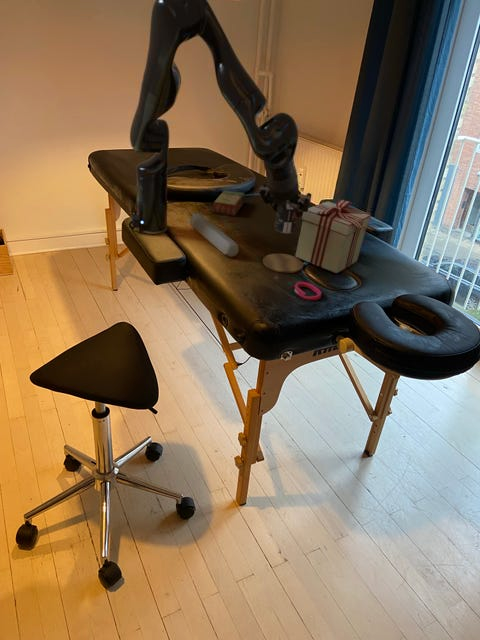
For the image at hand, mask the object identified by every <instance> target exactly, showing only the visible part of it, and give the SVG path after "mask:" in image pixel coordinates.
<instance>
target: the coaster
mask: <svg viewBox="0 0 480 640" xmlns="http://www.w3.org/2000/svg"><path fill="white" fill-rule="evenodd" d="M262 265H264V267H266V268H267V269H269V270H271V271H274V272H278V273H283V274H284V273H285V274H291V273H293V274H294V273H298V272H300V271H301V270H303V268H304V261H303V260H302V259H299V258H297V257H295V256H294V255H292V254H286V253H270V254H267V255H265V256H264V257H262Z"/></svg>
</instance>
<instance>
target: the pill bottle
mask: <svg viewBox="0 0 480 640" xmlns="http://www.w3.org/2000/svg"><path fill="white" fill-rule="evenodd" d="M297 220H298V217H297V210H296V209H295V208H292V207H291V206H290V205H289V204H288V203H284V202H278V204H277V211H276V212H275V219H274V227H273V229H274V230H275V231H276V232H277V233H280V234H281V233H282V234H292V233H294V232H296V225H297Z"/></svg>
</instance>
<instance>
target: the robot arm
mask: <svg viewBox="0 0 480 640" xmlns="http://www.w3.org/2000/svg"><path fill="white" fill-rule="evenodd" d="M149 29H150V30H149V42H148V50H147V54H146V62H145V67H144V71H143V74H142V79H141V80H142V81H141V84H140V91H139V97H138V101H137V102H138V103H137V106H136V109H135V111H134V115H133V118H132V122H131V124H130V129H129V143H130V146H131V148H132V150H134V151H135V152H137V153H140V154H141V153H142V154H153V156H152V157H150V158H149V159H147V160H145V161H142V162H140V163H138V164H137V166H136V197H135V201H136V202H135V205H136V207H135V208H136V214H131V220H130V221H129V222H128V228H129V229H131V230H132V231H133V230H134V229H137V230H138V233H139V234H146V235H160V234H164V233H166V232H167V231H168V171H169V150H170V128H169V127H170V126H169V124H168V122H167V121H166V120H165V119H161V117H162V116H164V115H165V114H167V113H168V112H169V111H171V109H172V108H173V107H174V105H175V104H176V101H177V99H178V96H179V92H180V89H181V85H182V75H181V72H180V70H179V67H178V65H177V63H176V62H175V57H176V54H177V51H178V49H179V48H180V46H181V45H182V44H183V43H185V42H188V41H190V40H192V39H194V38H196V37H199V39H200V40H201V41H202V42H203V43H204V44H205V46H206V48H207V49H208V51H209V53H210V55H211V59H212V62H213V69H214V76H215V80H216V85H217V87H218V91H219V92H220V94H221V96H222V98H223V99H224V100H225V102H226V104H227V105H228V106H229V107H230V108H231V110H232V111H233V112H234V114H235V115H236V116H237V118H238V120H239V122H240V123H241V125H242V128H243V129H244V131H245V134H246V136H247V139H248V142H249V144H250V146H251V150H252V152H253V153H254V155H255V156H256V157H257V158H258V159H260V160H262V162H263V167H264V170H265V171H264V172H265V177H266V178H265V179H266V182H267V184H264V183H262V184H261V187H260V190H259V192H258V193H259V195H260V197H261V199H262V200H263V203H264V204H266V205H268V204H270V206H271V208H272V210H273V211H274V212H275V213H276V211H277V204H278V202H284V203H288V204H289V205H290V206H291V207H292V208H295V209H296V210H297V218H301V217H302V215H303V212H307V211H308V208H310V205H311V200H312V196H313V195H312V193H311V192H307V193H306V194H303V193H302V192H301V191H300V186H299V179H298V178H299V177H298V176H299V175H298V171H297V167H296V166H295V159H294V157H295V154H296V151H297V146H298V142H299V129H298V125H297V123H296V121H295V119H294V118H293V117H292V115H290V114H289V113H286V112H277V113H275V114H274V115H272V116H271V117H270V118H269V119H267V120H266V121H265V122H263V123H262V124H260V125H259V126H258V124H257V119H258V117H259V116H260V115H261V113H262V112H263V111H264V109H266V106H267V104H268V101H267V98H266V96H265V94H264V93H263V91H262V90H261V89H260V88H259V86H258V85H257V84H256V82H255V81H254V80H253V78H252V77H251V75H250V74H249V72H248V71H247V69H245V67H244V65H243V64H242V62H241V61H240V59H239V57H238V55H237V54H236V52H235V49H234V48H233V47H232V44H231V42H230V41H229V39H228V36H227V35H226V33H225V31H224V29H223V27H222V26H221V23H220V21H219V20H218V18H217V16H216V14H215V12H214V10H213V8H212V6H211V5H210V2H209V1H208V0H155V1H154V3H153V5H152V10H151V15H150V28H149Z"/></svg>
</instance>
